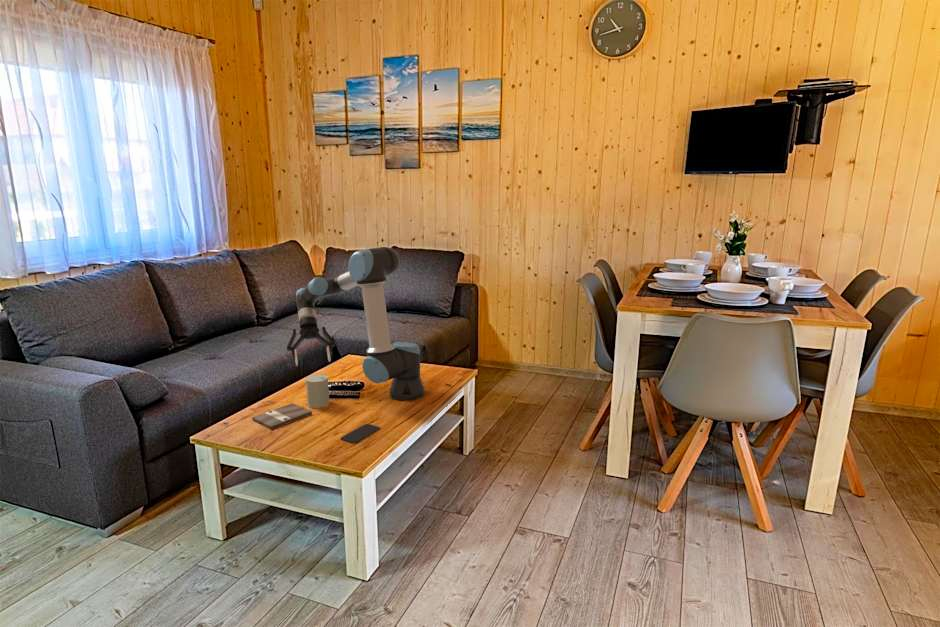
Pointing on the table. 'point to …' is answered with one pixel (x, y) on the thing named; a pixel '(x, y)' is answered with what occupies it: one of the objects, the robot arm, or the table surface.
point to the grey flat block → (281, 415)
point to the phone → (360, 433)
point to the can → (317, 390)
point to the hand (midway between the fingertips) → (313, 362)
